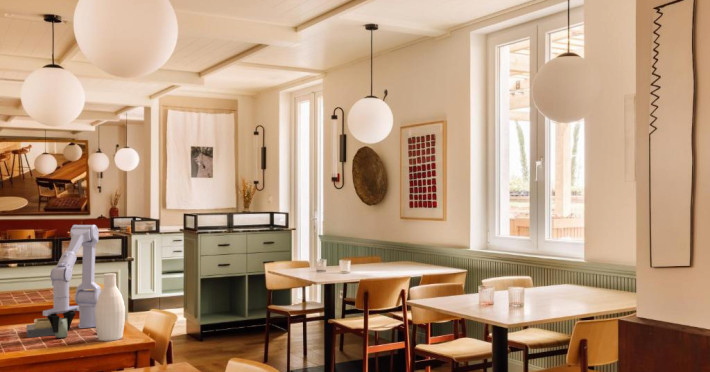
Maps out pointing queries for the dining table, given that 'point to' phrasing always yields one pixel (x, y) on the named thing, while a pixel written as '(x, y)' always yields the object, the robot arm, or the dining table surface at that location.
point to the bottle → (110, 311)
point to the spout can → (62, 328)
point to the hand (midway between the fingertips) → (61, 331)
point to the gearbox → (40, 328)
